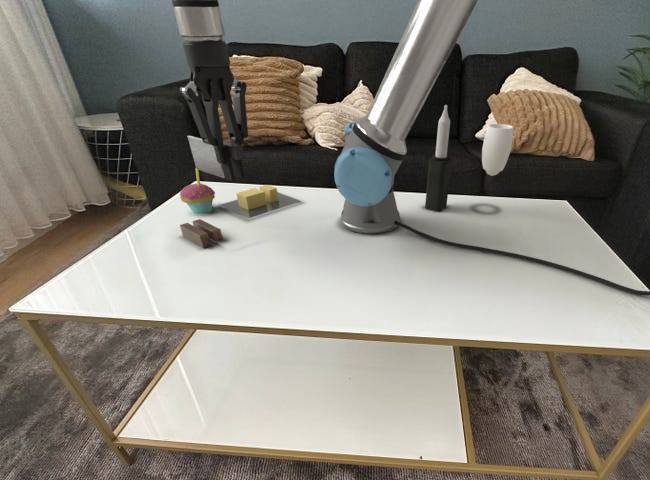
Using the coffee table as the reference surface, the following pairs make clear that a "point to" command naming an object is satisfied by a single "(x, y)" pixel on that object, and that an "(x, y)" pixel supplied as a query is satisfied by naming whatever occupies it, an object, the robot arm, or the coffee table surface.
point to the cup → (496, 147)
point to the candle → (439, 168)
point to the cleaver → (212, 155)
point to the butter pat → (270, 193)
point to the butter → (251, 198)
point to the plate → (281, 202)
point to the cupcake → (198, 196)
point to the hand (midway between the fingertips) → (234, 177)
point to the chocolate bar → (201, 233)
